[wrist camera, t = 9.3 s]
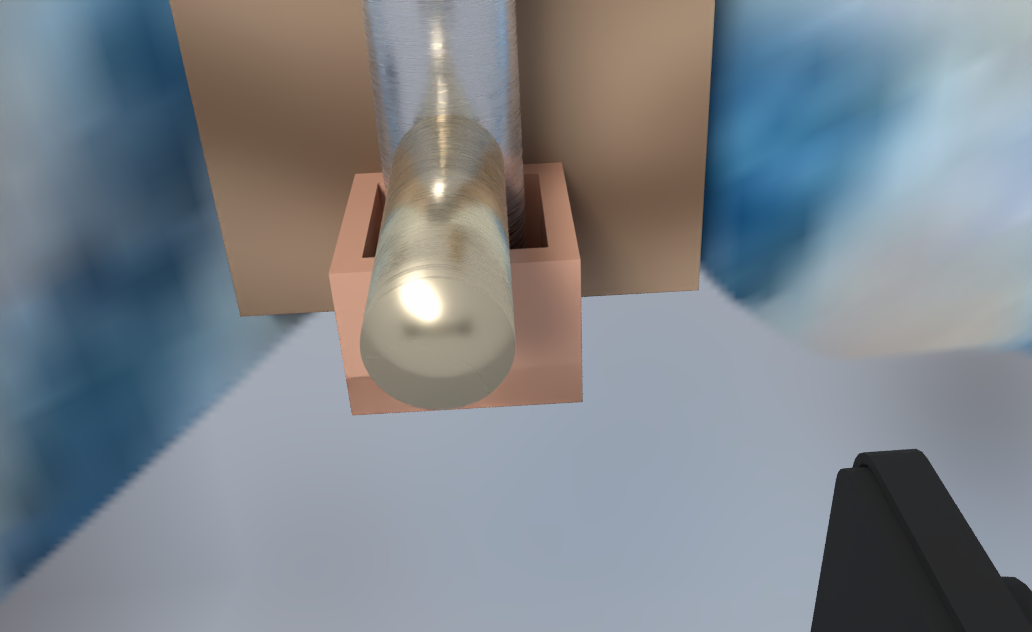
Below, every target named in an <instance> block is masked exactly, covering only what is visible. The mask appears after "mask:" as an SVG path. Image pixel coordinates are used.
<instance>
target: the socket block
mask: <svg viewBox="0 0 1032 632" xmlns="http://www.w3.org/2000/svg"><path fill="white" fill-rule="evenodd" d="M523 179H524V200H525V222H526V244H527V249H510V264H511V280H512V297H513V313H514V329H515V355H514V360H513V363H512V366H511V369H510V371H509V373H508V374H507V376H506V378H505V379H504V380H503V382H502V383H501V384H500V385H499V386H498V387H497V388H496V389H495V390H494V391H493V392H492V393H490V394H489V395H488V396H486V397H484V398H483V399H481V400H479V401H477V402H475V403H473V404H470V405H467V406H464V407H460V408H455V409H469V408H487V407H503V406H521V405H538V404H556V403H573V402H582V401H583V400H582V333H581V260H580V254H579V249H578V244H577V239H576V233H575V228H574V223H573V218H572V213H571V207H570V202H569V197H568V192H567V186H566V181H565V176H564V171H563V166H562V162H557V163H540V164H523ZM385 201H386V196H385V188H384V180H383V172H382V173H364V174H355V177H354V180H353V184H352V188H351V192H350V195H349V199H348V203H347V207H346V210H345V214H344V218H343V222H342V225H341V229H340V233H339V237H338V240H337V244H336V248H335V252H334V255H333V259H332V263H331V267H330V270H329V279H330V285H331V291H332V297H333V303H334V309H335V315H336V321H337V327H338V333H339V339H340V345H341V351H342V357H343V363H344V370H345V375H346V381H347V387H348V393H349V400H350V406H351V412H352V415H367V414H384V413H400V412H416V411H417V412H418V411H435V410H431V409H423V408H418V407H414V406H411V405H408V404H405V403H403V402H401V401H398V400H396V399H395V398H393V397H391V396H390V395H388V394H387V393H386V392H384V391H383V390H382V389H381V388H380V387H379V386H378V385H377V384H376V383H375V382H374V381H373V379H372V378H371V377H370V375H369V374H368V372H367V370H366V368H365V366H364V364H363V361H362V357H361V353H360V334H361V329H362V323H363V318H364V313H365V307H366V302H367V297H368V291H369V286H370V281H371V275H372V270H373V265H374V260H375V254H376V249H377V244H378V238H379V233H380V228H381V222H382V217H383V212H384V206H385ZM447 410H453V409H447Z"/></svg>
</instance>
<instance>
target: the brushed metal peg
mask: <svg viewBox="0 0 1032 632" xmlns="http://www.w3.org/2000/svg"><path fill="white" fill-rule="evenodd" d="M361 6H362V14H363V22H364V30H365V38H366V46H367V53H368V61H369V69H370V77H371V85H372V93H373V101H374V109H375V117H376V125H377V133H378V141H379V149H380V156H381V164H382V172H383V180H384V188H385V196H386V201H385V206H384V212H383V217H382V222H381V228H380V233H379V238H378V244H377V249H376V254H375V260H374V265H373V270H372V275H371V281H370V286H369V291H368V297H367V302H366V307H365V313H364V318H363V323H362V329H361V334H360V353H361V357H362V361H363V364H364V366H365V368H366V370H367V372H368V374H369V375H370V377H371V378H372V379H373V381H374V382H375V383H376V384H377V385H378V386H379V387H380V388H381V389H382V390H383V391H384V392H386V393H387V394H388V395H390V396H391V397H393V398H395V399H396V400H398V401H401V402H403V403H405V404H408V405H411V406H414V407H418V408H423V409H431V410H447V409H455V408H460V407H464V406H467V405H470V404H473V403H475V402H477V401H479V400H481V399H483V398H484V397H486V396H488V395H489V394H490V393H492V392H493V391H494V390H495V389H496V388H497V387H498V386H499V385H500V384H501V383H502V382H503V380H504V379H505V378H506V376H507V374H508V373H509V371H510V369H511V366H512V363H513V360H514V355H515V329H514V313H513V297H512V280H511V264H510V249H527V244H526V222H525V200H524V179H523V157H522V135H521V114H520V92H519V70H518V49H517V27H516V5H515V0H361Z"/></svg>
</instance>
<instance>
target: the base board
mask: <svg viewBox="0 0 1032 632" xmlns="http://www.w3.org/2000/svg"><path fill="white" fill-rule="evenodd" d="M169 2H170V6H171V10H172V15H173V19H174V24H175V28H176V33H177V37H178V41H179V46H180V50H181V55H182V59H183V64H184V68H185V72H186V77H187V81H188V86H189V90H190V95H191V99H192V104H193V108H194V112H195V117H196V121H197V126H198V130H199V135H200V139H201V143H202V148H203V152H204V157H205V161H206V166H207V170H208V175H209V179H210V183H211V188H212V192H213V197H214V201H215V206H216V210H217V214H218V219H219V223H220V228H221V232H222V237H223V241H224V246H225V250H226V254H227V259H228V263H229V268H230V272H231V277H232V281H233V285H234V290H235V294H236V299H237V303H238V308H239V312H240V317H241V316H259V315H276V314H293V313H311V312H328V311H335V309H334V303H333V297H332V291H331V285H330V279H329V270H330V267H331V263H332V259H333V255H334V252H335V248H336V244H337V240H338V237H339V233H340V229H341V225H342V222H343V218H344V214H345V210H346V207H347V203H348V199H349V195H350V192H351V188H352V184H353V180H354V177H355V174H364V173H382V164H381V156H380V149H379V141H378V133H377V125H376V117H375V109H374V101H373V93H372V85H371V77H370V69H369V61H368V53H367V46H366V38H365V30H364V22H363V14H362V6H361V0H169ZM515 5H516V27H517V49H518V70H519V92H520V114H521V135H522V157H523V164H540V163H557V162H562V166H563V171H564V176H565V181H566V186H567V192H568V197H569V202H570V207H571V213H572V218H573V223H574V228H575V233H576V239H577V244H578V249H579V254H580V260H581V297H588V296H603V295H604V296H605V295H622V294H639V293H658V292H675V291H691V290H698V289H699V272H700V255H701V237H702V220H703V203H704V185H705V168H706V150H707V133H708V115H709V98H710V80H711V63H712V46H713V28H714V11H715V0H515Z"/></svg>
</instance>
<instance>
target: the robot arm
mask: <svg viewBox="0 0 1032 632" xmlns="http://www.w3.org/2000/svg"><path fill="white" fill-rule="evenodd" d="M811 632H1032V591H1031V590H1030V589H1029V588H1028V586H1027V585H1026V584H1024V583H1023V582H1021V581H1020V580H1018V579H1017V578H1015V577H1001V576H1000V575H999V573H998V571H997V570H996V568H995V567H994V565H993V563H992V562H991V560H990V558H989V557H988V555H987V554H986V552H985V550H984V549H983V547H982V545H981V544H980V542H979V541H978V539H977V537H976V536H975V534H974V533H973V531H972V529H971V528H970V526H969V525H968V523H967V521H966V520H965V518H964V517H963V515H962V513H961V512H960V510H959V508H958V507H957V505H956V504H955V502H954V500H953V499H952V497H951V496H950V494H949V493H948V491H947V489H946V488H945V486H944V484H943V483H942V481H941V480H940V478H939V476H938V475H937V473H936V472H935V470H934V468H933V467H932V465H931V464H930V462H929V460H928V459H927V458H926V456H925V455H924V454H923V453H922V452H921V451H919V450H917V449H909V450H908V449H907V450H893V451H878V452H864V453H860V454H859V455H858V456H857V457H856V459H855V461H854V464H853V468H845V469H840V471H839V472H838V474H837V478H836V483H835V489H834V496H833V501H832V507H831V514H830V519H829V525H828V532H827V537H826V544H825V549H824V556H823V562H822V567H821V573H820V579H819V585H818V591H817V597H816V603H815V609H814V615H813V621H812V627H811Z"/></svg>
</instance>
